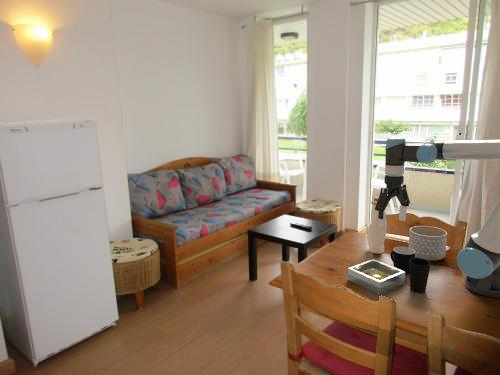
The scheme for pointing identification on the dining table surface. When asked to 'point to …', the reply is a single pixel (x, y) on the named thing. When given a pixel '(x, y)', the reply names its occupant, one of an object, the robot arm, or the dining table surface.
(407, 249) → the mug
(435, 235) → the planter
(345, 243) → the dining table surface
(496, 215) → the robot arm
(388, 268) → the grey square tray
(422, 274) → the cup
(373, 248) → the water bottle
